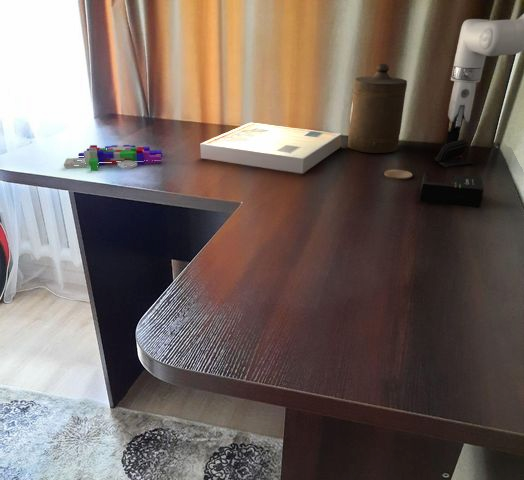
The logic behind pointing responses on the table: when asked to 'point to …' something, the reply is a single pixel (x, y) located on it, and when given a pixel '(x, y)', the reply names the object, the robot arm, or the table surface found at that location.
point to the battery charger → (453, 191)
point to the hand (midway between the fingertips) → (450, 146)
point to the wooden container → (377, 112)
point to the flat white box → (272, 147)
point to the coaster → (398, 174)
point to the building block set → (114, 157)
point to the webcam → (453, 154)
